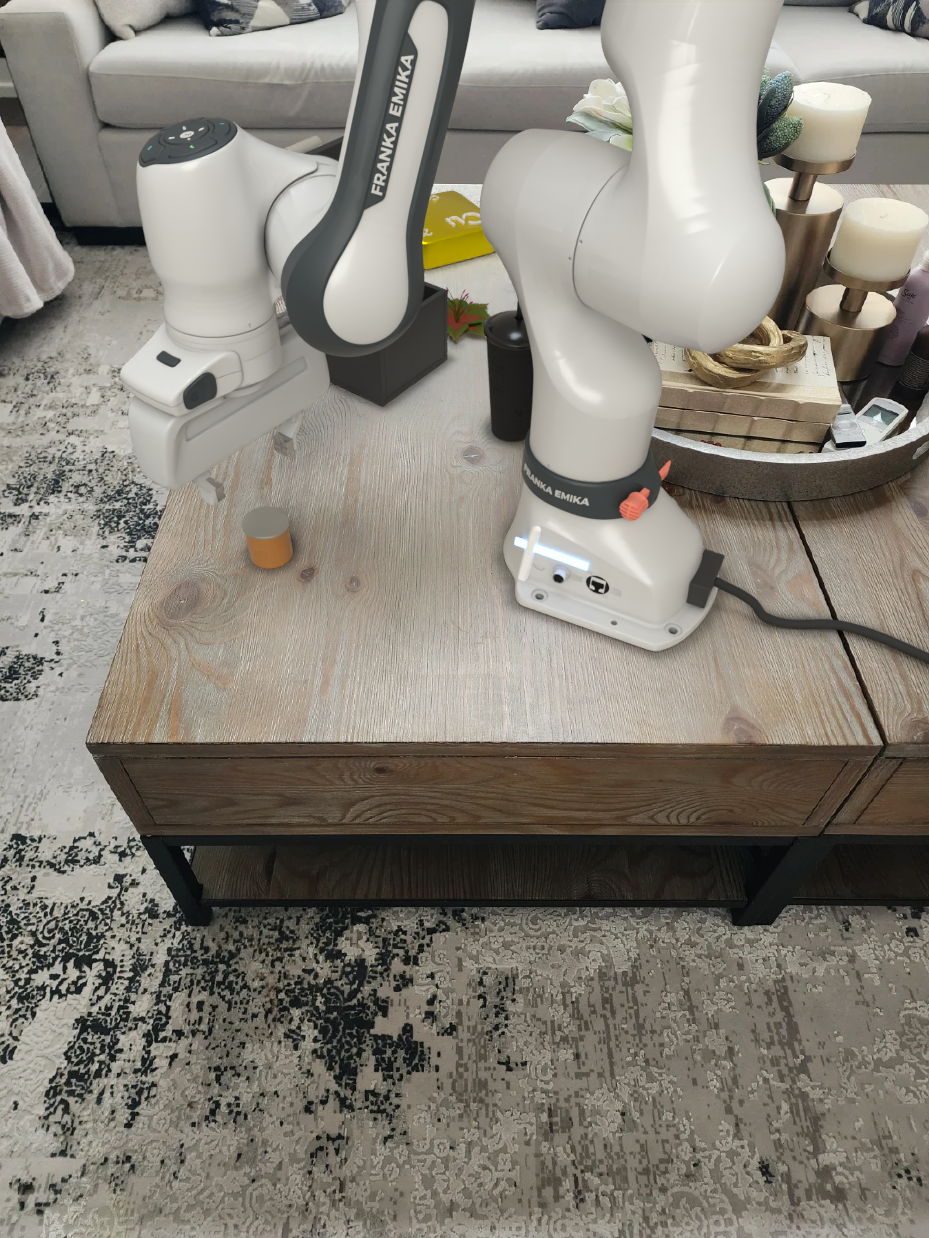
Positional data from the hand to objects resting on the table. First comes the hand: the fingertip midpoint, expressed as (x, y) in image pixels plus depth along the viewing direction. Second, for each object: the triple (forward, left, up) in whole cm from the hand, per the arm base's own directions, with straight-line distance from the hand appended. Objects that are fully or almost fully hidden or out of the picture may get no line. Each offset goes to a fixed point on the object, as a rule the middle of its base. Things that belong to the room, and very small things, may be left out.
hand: (251, 474), depth 81 cm
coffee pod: (0, 0, -11) cm, 11 cm away
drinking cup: (-8, -33, -11) cm, 36 cm away
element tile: (+29, -67, -11) cm, 74 cm away
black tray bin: (+15, -34, -11) cm, 39 cm away
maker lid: (+20, -34, +7) cm, 40 cm away
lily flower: (+12, -49, -11) cm, 52 cm away
